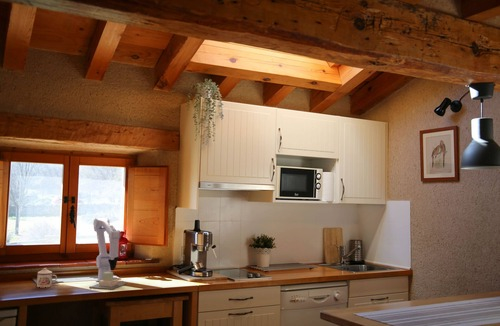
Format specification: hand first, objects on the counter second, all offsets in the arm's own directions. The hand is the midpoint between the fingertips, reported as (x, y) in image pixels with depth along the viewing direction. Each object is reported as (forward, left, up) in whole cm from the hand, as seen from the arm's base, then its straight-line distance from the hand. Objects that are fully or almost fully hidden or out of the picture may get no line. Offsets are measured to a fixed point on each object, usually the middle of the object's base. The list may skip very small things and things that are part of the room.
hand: (113, 269), depth 332 cm
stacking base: (+6, 0, -10) cm, 12 cm away
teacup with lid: (+20, -36, -11) cm, 42 cm away
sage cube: (+6, 0, -7) cm, 9 cm away
